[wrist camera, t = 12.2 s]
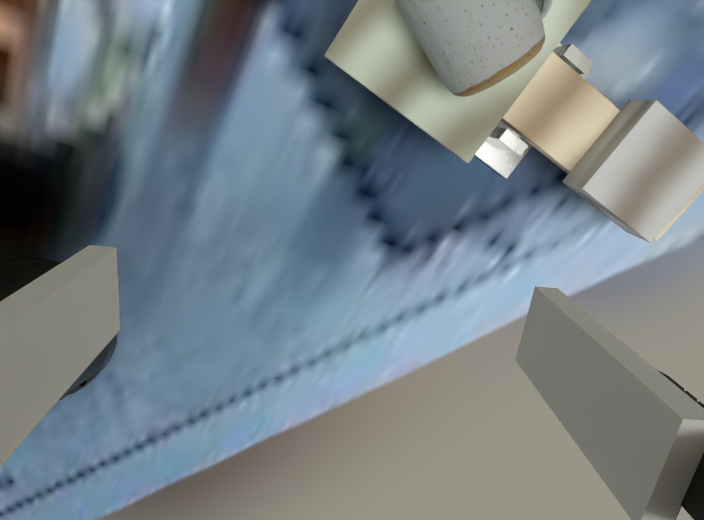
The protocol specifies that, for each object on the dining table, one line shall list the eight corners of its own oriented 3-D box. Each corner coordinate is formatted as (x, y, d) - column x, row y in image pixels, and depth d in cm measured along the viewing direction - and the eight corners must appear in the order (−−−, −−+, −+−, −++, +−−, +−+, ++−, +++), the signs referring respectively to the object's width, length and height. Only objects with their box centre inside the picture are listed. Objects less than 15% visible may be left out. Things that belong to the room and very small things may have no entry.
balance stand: (440, 129, 45) (461, 135, 38) (522, 16, 42) (560, 1, 35) (502, 176, 47) (532, 190, 40) (584, 71, 44) (631, 66, 37)
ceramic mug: (443, 105, 36) (475, 105, 29) (385, 7, 34) (404, -19, 26) (563, 18, 35) (628, -4, 27) (511, -91, 32) (568, -146, 25)
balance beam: (324, 58, 37) (324, 52, 32) (440, -130, 33) (459, -165, 29) (612, 273, 45) (644, 293, 40) (732, 140, 41) (783, 146, 36)
